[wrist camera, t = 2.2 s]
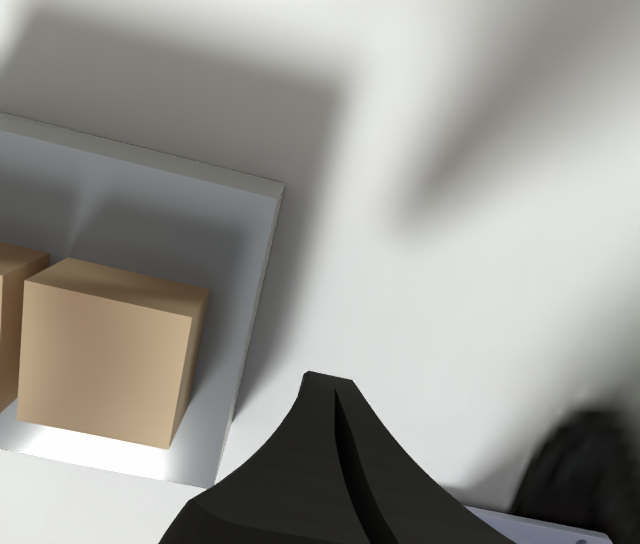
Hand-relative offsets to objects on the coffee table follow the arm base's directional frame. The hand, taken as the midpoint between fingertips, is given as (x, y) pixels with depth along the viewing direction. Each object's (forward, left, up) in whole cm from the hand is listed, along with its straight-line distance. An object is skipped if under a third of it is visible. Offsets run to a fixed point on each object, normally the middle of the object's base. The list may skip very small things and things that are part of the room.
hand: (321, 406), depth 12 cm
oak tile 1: (+6, 0, -2) cm, 6 cm away
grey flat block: (+7, 0, -5) cm, 9 cm away
